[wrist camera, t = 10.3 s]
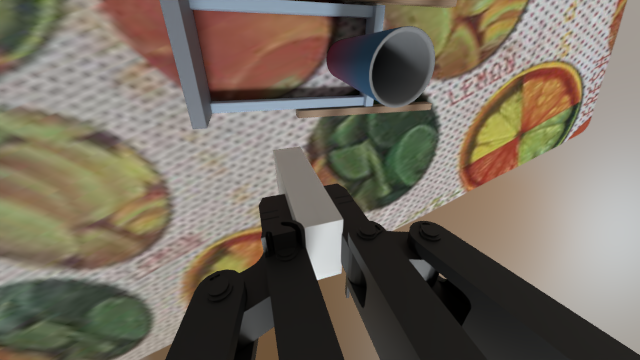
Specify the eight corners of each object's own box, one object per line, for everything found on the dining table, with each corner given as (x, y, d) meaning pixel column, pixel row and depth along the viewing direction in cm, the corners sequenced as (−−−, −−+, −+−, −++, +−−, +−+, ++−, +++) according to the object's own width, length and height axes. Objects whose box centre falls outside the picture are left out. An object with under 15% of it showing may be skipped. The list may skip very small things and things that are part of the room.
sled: (202, 110, 32) (192, 129, 25) (175, -5, 26) (154, -21, 19) (365, 102, 38) (392, 115, 32) (375, 7, 32) (411, -1, 25)
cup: (350, 20, 32) (422, 6, 20) (372, 65, 36) (443, 78, 23) (311, 53, 33) (356, 60, 20) (336, 94, 36) (387, 121, 24)
